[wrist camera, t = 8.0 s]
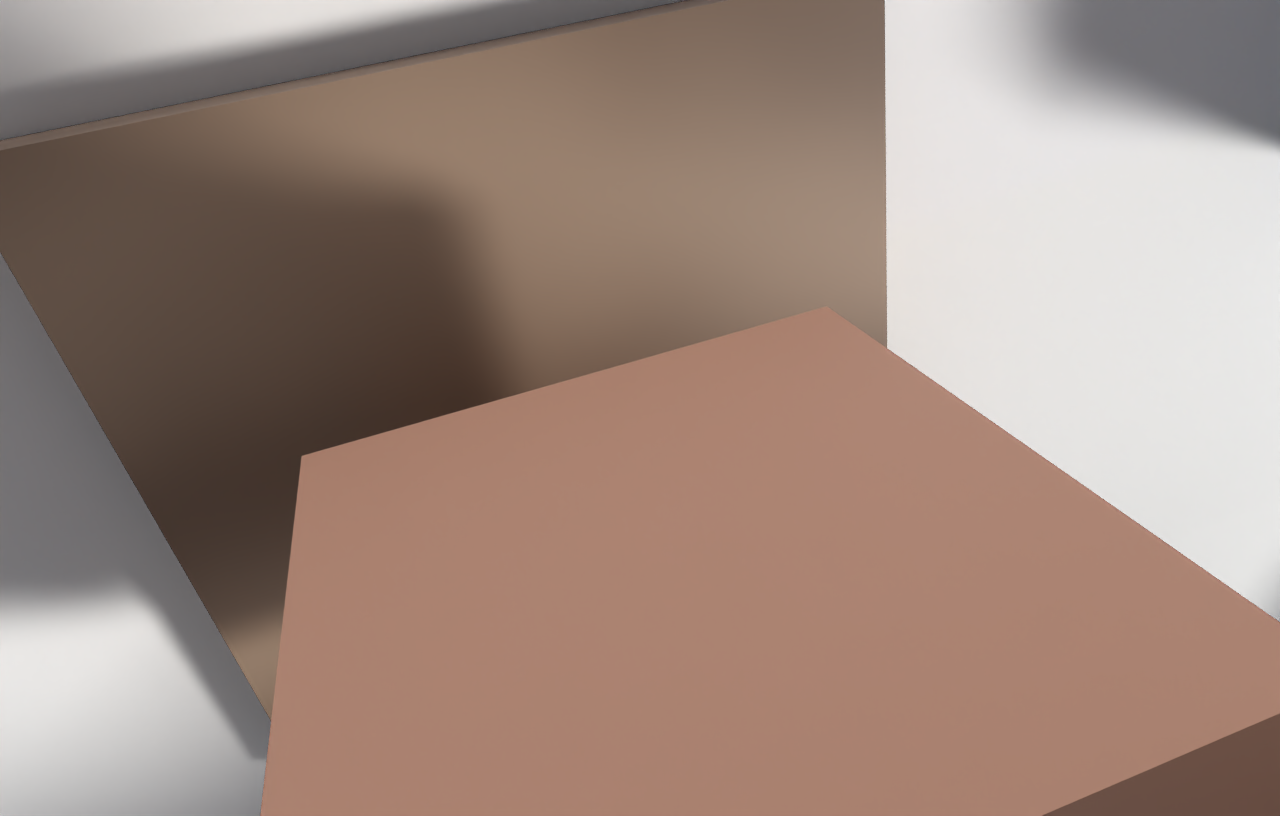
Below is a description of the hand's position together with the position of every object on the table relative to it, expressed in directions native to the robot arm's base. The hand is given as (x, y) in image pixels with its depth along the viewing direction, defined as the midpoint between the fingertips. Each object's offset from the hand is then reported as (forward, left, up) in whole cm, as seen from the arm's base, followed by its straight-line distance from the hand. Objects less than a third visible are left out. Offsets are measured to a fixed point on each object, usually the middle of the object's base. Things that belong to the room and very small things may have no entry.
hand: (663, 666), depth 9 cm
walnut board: (0, 0, -6) cm, 6 cm away
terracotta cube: (0, 0, -2) cm, 2 cm away
